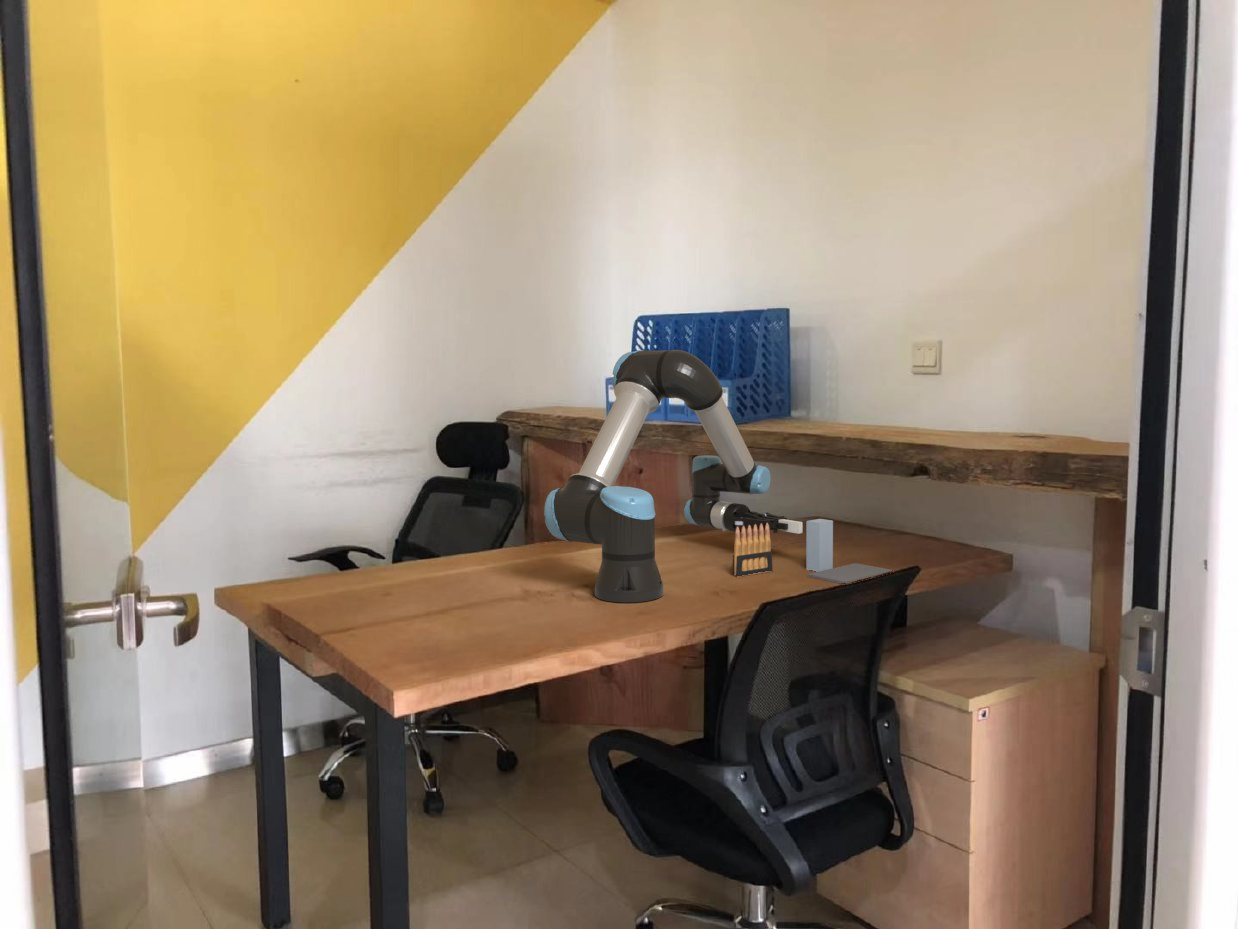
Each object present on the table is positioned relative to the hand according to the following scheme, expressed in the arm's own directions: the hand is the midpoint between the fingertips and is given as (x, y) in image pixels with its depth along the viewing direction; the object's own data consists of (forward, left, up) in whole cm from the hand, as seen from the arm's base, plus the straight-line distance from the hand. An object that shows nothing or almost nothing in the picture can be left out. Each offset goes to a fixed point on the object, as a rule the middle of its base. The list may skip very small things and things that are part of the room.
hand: (800, 527), depth 234 cm
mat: (+1, -15, -9) cm, 18 cm away
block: (0, -6, -9) cm, 11 cm away
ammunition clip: (-15, +2, -10) cm, 18 cm away
